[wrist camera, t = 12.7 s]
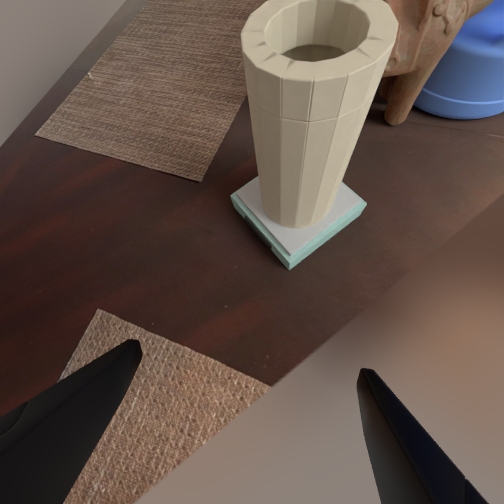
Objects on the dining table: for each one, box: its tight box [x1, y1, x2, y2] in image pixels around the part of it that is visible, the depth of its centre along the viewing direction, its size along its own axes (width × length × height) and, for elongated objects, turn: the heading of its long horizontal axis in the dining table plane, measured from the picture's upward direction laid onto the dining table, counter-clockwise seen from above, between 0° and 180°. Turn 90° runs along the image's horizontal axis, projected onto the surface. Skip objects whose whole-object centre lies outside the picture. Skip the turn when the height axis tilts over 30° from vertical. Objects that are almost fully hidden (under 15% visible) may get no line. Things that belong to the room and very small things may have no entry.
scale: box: [230, 176, 367, 270], centre depth 25 cm, size 10×10×3 cm
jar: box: [240, 0, 399, 229], centre depth 17 cm, size 7×7×14 cm
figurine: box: [380, 0, 494, 125], centre depth 24 cm, size 7×18×15 cm, turn 90°
